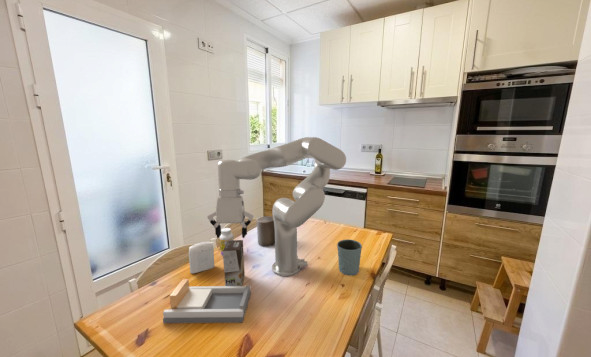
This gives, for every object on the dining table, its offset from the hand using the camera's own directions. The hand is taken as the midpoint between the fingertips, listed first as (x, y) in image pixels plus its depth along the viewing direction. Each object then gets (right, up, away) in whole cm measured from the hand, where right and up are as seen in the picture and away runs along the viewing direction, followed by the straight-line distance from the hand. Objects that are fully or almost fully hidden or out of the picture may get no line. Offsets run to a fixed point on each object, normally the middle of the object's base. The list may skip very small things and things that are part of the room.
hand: (231, 236), depth 92 cm
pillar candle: (+9, -13, +39) cm, 42 cm away
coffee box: (+1, -20, +4) cm, 20 cm away
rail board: (-4, -22, -10) cm, 24 cm away
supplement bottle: (-9, -15, +27) cm, 33 cm away
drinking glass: (+48, -18, +11) cm, 52 cm away
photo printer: (-16, -18, +14) cm, 28 cm away
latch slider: (-10, -20, -10) cm, 25 cm away
